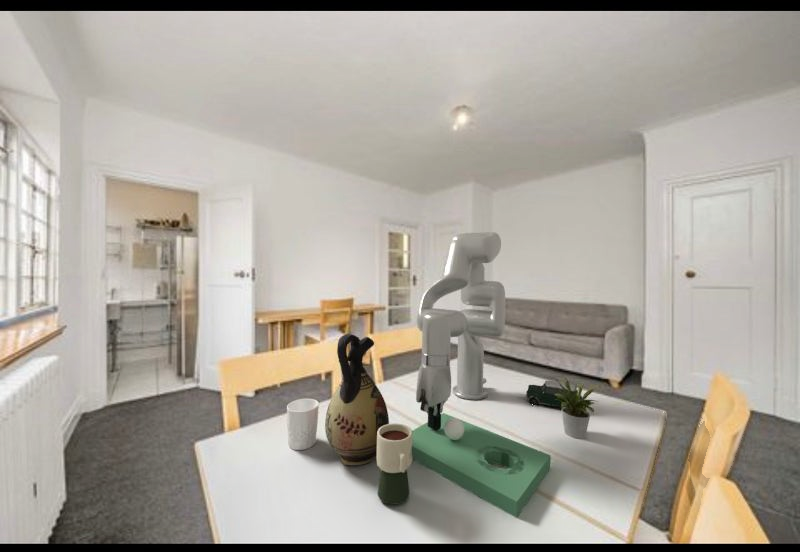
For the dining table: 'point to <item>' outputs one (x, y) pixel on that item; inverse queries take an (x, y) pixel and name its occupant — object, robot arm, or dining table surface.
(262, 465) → the dining table surface
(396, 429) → the character mug
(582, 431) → the house plant
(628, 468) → the dining table surface
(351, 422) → the ceramic jug
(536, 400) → the miniature car
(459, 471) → the board
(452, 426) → the golf ball
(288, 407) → the white cup
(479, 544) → the dining table surface
